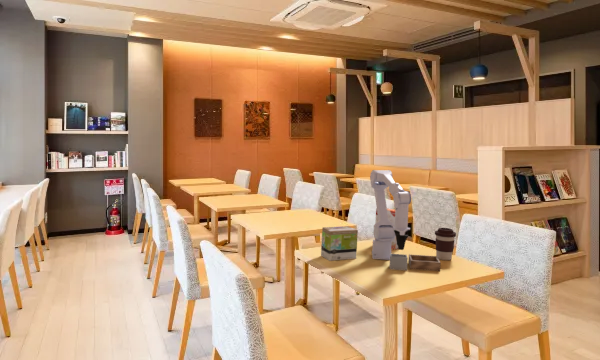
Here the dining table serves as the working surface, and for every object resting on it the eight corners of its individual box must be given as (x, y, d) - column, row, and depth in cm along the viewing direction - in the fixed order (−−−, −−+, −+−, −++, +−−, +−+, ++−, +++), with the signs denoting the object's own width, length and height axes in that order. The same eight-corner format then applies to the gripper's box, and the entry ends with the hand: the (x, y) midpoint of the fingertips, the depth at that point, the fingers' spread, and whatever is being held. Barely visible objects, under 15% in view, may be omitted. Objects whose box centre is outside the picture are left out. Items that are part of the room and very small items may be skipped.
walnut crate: (410, 269, 189) (411, 260, 189) (408, 262, 199) (408, 254, 199) (439, 271, 187) (440, 262, 187) (436, 264, 197) (436, 256, 197)
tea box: (329, 261, 198) (330, 231, 196) (320, 256, 207) (321, 226, 206) (357, 258, 204) (358, 229, 202) (346, 253, 213) (347, 225, 212)
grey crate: (390, 269, 188) (390, 256, 188) (389, 266, 193) (390, 253, 193) (406, 270, 187) (407, 257, 187) (405, 267, 192) (406, 254, 191)
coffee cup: (455, 262, 202) (457, 231, 201) (434, 260, 204) (436, 230, 203) (452, 256, 212) (454, 227, 210) (432, 255, 214) (434, 226, 212)
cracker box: (373, 244, 232) (375, 207, 230) (380, 243, 236) (381, 206, 234) (395, 250, 222) (396, 211, 220) (401, 248, 226) (403, 210, 224)
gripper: (412, 221, 180) (410, 252, 181) (408, 215, 194) (407, 244, 196) (395, 220, 181) (394, 251, 182) (393, 215, 195) (392, 243, 197)
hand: (400, 247), depth 189 cm, fingers open, 7 cm apart
